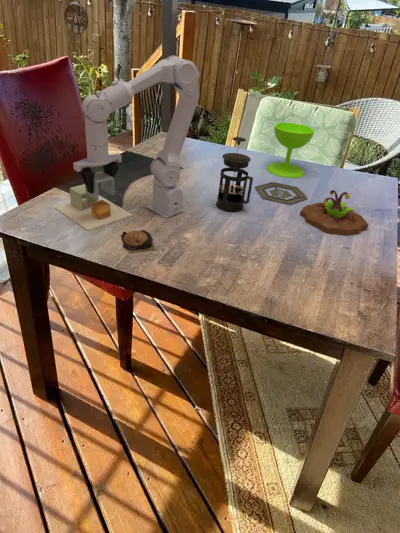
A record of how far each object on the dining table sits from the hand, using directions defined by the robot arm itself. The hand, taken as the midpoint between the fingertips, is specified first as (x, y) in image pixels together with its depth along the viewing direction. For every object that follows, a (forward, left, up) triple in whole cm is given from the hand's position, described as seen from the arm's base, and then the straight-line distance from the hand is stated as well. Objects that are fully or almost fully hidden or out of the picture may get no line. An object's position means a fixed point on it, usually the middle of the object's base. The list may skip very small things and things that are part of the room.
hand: (99, 189), depth 116 cm
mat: (+4, 0, -9) cm, 10 cm away
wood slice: (-18, +1, -10) cm, 21 cm away
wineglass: (-10, -86, -9) cm, 87 cm away
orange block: (0, 0, -8) cm, 8 cm away
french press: (-19, -39, -9) cm, 44 cm away
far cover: (+9, 0, -8) cm, 12 cm away
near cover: (0, 0, -1) cm, 1 cm away
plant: (-47, -59, -9) cm, 76 cm away
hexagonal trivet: (-23, -63, -9) cm, 68 cm away
